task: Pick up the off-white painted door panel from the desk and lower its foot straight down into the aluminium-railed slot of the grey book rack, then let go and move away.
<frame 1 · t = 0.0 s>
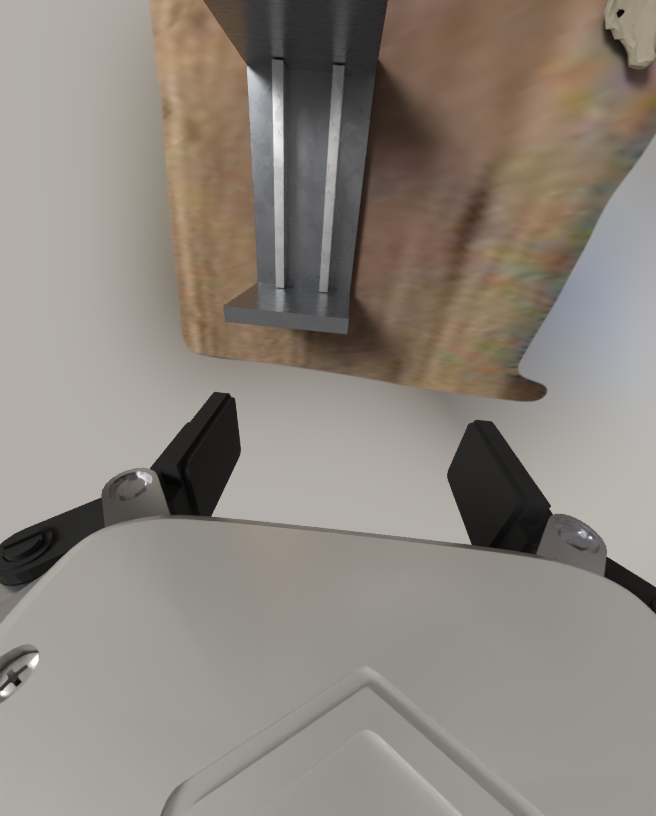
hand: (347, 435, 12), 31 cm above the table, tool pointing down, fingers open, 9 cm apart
grey book rack: (307, 197, 33), on the table
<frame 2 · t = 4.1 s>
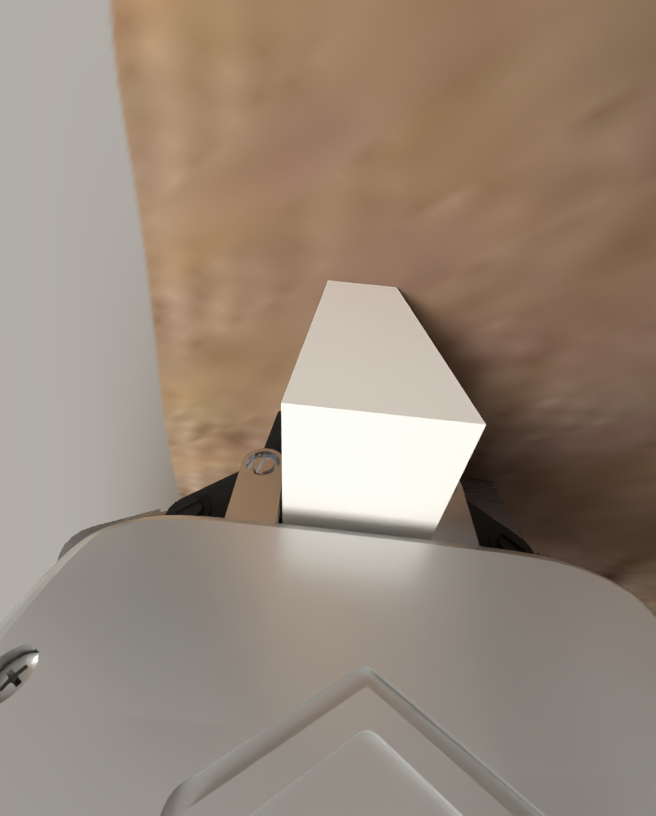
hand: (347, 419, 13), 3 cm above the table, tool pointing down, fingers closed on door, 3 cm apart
grey book rack: (371, 562, 25), on the table
door: (348, 384, 15), on the table, touching gripper
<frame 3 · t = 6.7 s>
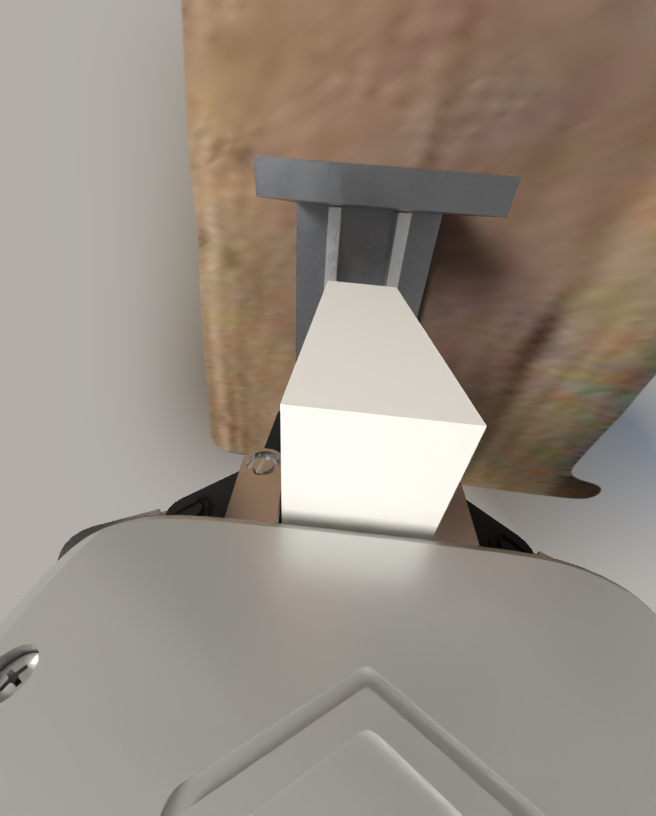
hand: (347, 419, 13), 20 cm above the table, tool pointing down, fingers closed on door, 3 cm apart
grey book rack: (355, 319, 30), on the table
door: (348, 384, 15), point 17 cm above the table, touching gripper
when the fingers open (5 cm above the table, at t = 9.3 s): door stays where it is, resting on grey book rack.
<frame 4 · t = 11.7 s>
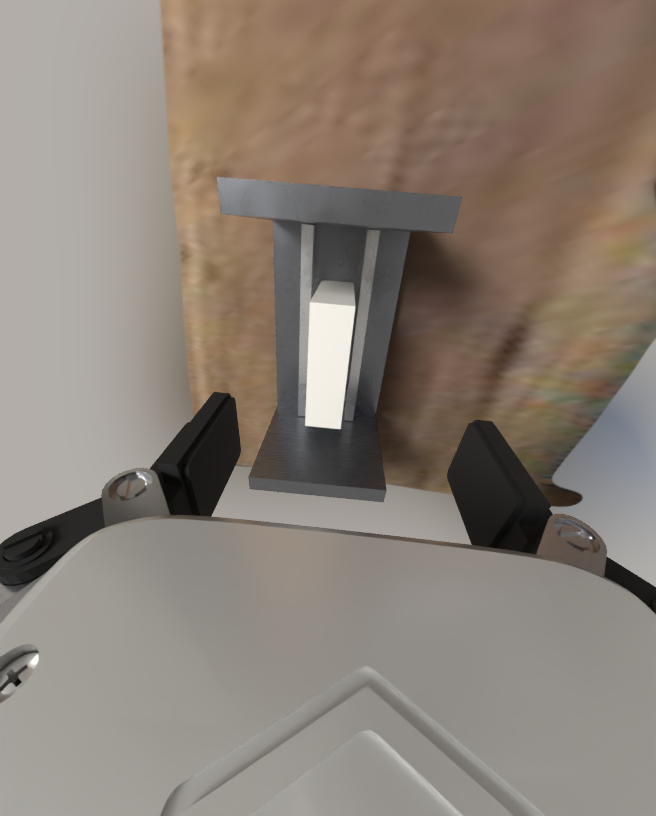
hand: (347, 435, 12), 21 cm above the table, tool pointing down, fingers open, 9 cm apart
grey book rack: (333, 330, 31), on the table
door: (333, 332, 30), point 1 cm above the table, touching grey book rack
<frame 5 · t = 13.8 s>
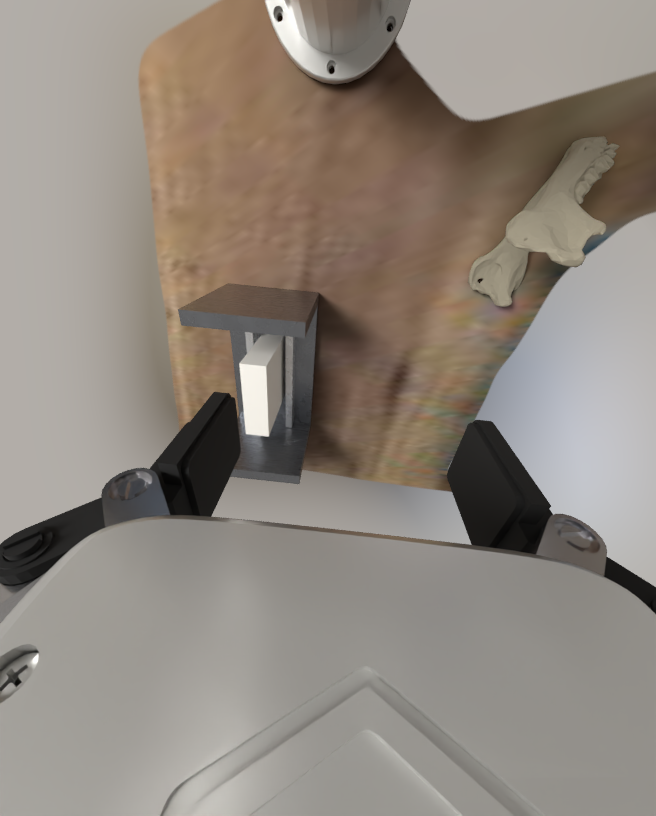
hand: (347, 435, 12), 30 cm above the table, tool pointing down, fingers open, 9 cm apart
grey book rack: (275, 364, 44), on the table
jawbone: (517, 223, 32), on the table
door: (273, 367, 43), point 1 cm above the table, touching grey book rack
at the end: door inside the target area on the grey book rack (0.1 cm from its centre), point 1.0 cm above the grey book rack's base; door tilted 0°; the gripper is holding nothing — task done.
